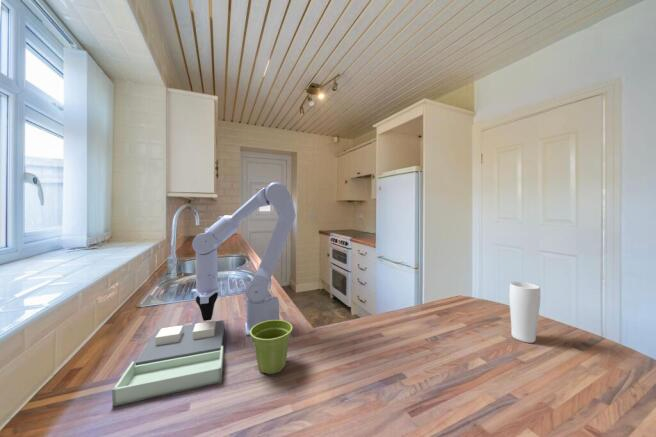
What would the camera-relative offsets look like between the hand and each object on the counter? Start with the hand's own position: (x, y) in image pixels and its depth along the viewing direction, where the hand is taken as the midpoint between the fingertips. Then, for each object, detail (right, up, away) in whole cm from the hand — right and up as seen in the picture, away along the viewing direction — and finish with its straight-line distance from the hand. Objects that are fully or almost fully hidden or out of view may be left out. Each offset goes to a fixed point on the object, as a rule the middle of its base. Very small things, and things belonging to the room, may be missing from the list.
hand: (207, 319), depth 73 cm
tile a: (+3, -1, -7) cm, 7 cm away
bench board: (-1, -4, -9) cm, 10 cm away
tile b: (-5, -1, -9) cm, 11 cm away
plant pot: (+23, -4, -17) cm, 28 cm away
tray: (+4, -4, -21) cm, 22 cm away
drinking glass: (+90, -4, -4) cm, 90 cm away
